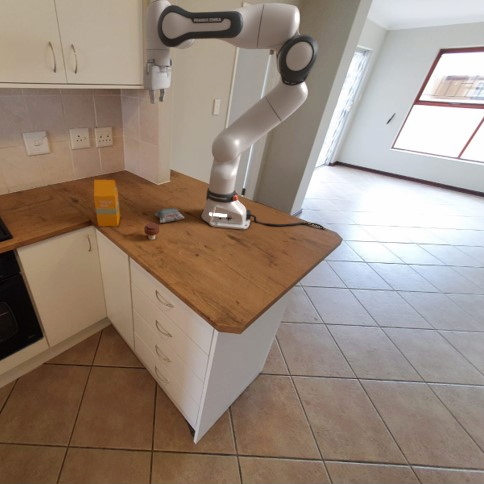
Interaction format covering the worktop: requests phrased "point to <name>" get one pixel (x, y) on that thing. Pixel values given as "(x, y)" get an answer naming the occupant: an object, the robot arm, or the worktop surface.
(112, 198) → the orange juice
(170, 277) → the worktop surface
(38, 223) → the worktop surface
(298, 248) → the worktop surface
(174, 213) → the packaged food
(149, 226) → the brown stepped knob
